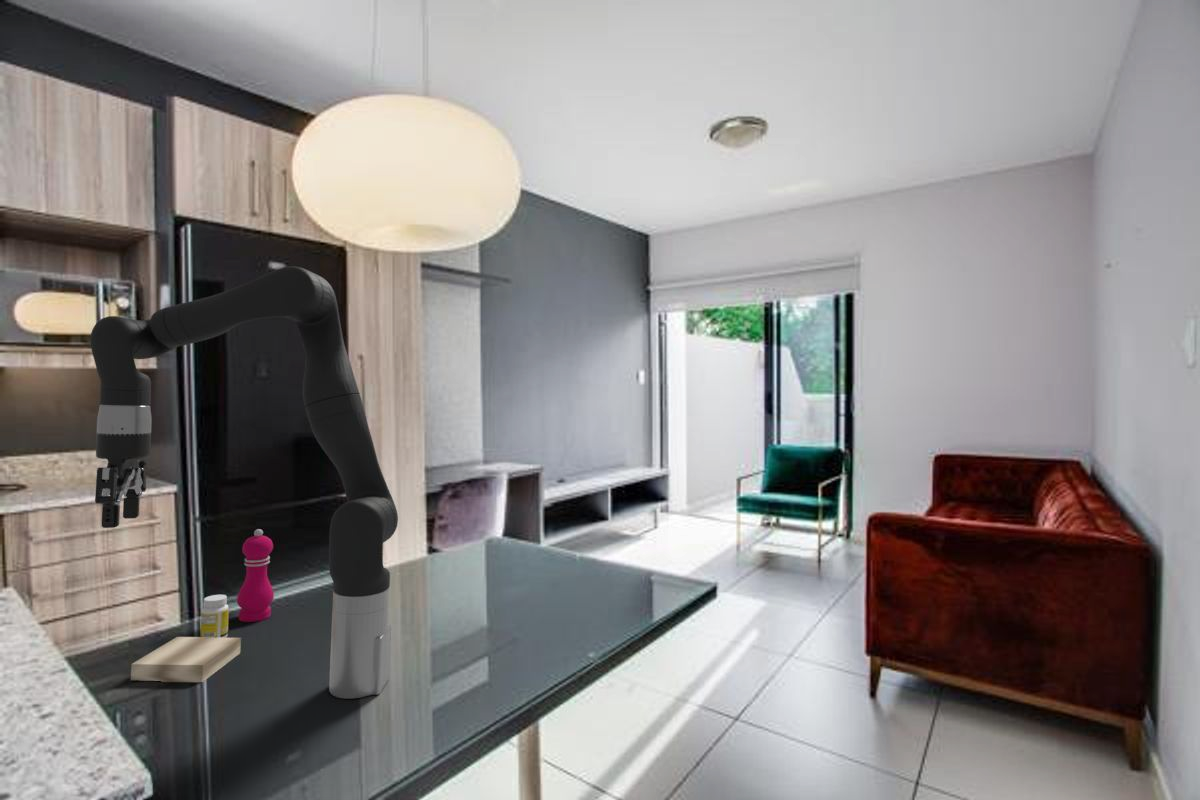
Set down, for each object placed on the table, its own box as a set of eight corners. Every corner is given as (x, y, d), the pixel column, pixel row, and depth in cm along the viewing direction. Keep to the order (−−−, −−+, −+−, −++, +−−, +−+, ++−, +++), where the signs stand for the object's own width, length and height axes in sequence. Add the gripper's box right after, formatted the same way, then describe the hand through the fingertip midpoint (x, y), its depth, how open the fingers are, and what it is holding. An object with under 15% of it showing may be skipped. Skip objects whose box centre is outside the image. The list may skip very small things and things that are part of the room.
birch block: (240, 653, 115) (240, 637, 115) (202, 682, 103) (203, 665, 103) (176, 652, 114) (177, 636, 114) (130, 681, 102) (131, 664, 102)
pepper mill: (267, 609, 138) (271, 524, 138) (277, 618, 133) (280, 530, 133) (232, 616, 133) (236, 528, 133) (240, 625, 128) (244, 534, 128)
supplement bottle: (223, 631, 124) (224, 592, 124) (231, 638, 121) (233, 597, 121) (196, 638, 121) (198, 597, 121) (204, 645, 118) (206, 603, 118)
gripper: (133, 433, 99) (130, 530, 98) (164, 429, 112) (160, 514, 112) (78, 432, 96) (74, 532, 96) (116, 428, 109) (112, 515, 109)
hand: (121, 522), depth 104 cm, fingers open, 8 cm apart
